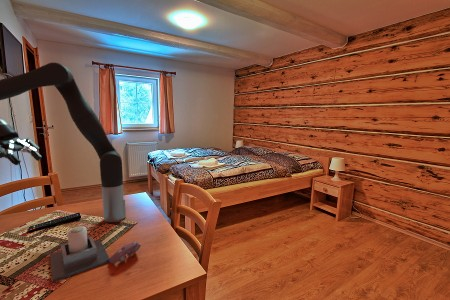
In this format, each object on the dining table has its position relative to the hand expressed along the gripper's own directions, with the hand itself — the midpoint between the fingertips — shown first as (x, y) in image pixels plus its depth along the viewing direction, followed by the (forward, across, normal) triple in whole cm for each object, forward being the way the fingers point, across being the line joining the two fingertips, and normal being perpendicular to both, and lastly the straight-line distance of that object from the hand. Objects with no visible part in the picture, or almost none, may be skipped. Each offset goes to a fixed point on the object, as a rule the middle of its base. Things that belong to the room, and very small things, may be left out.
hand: (29, 161), depth 86 cm
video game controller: (+52, -7, -5) cm, 53 cm away
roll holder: (+41, -9, +6) cm, 42 cm away
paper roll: (+40, -9, +5) cm, 41 cm away
